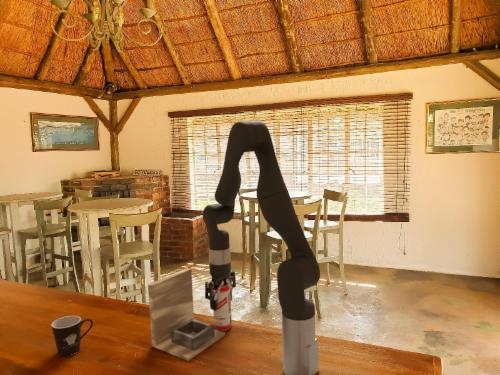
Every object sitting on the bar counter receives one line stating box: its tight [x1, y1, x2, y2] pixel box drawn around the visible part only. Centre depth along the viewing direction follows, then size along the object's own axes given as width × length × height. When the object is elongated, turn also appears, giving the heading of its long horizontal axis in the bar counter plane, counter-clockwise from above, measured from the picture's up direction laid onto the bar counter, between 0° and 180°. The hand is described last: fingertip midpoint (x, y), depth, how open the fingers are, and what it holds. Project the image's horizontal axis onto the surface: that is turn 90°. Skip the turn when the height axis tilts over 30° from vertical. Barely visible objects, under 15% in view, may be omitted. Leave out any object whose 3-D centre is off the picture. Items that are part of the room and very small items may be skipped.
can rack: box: [147, 267, 226, 362], centre depth 129 cm, size 16×18×21 cm
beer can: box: [212, 284, 233, 332], centre depth 138 cm, size 6×6×16 cm
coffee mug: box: [50, 315, 94, 357], centre depth 126 cm, size 12×9×10 cm
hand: (221, 304), depth 138 cm, fingers open, 8 cm apart
